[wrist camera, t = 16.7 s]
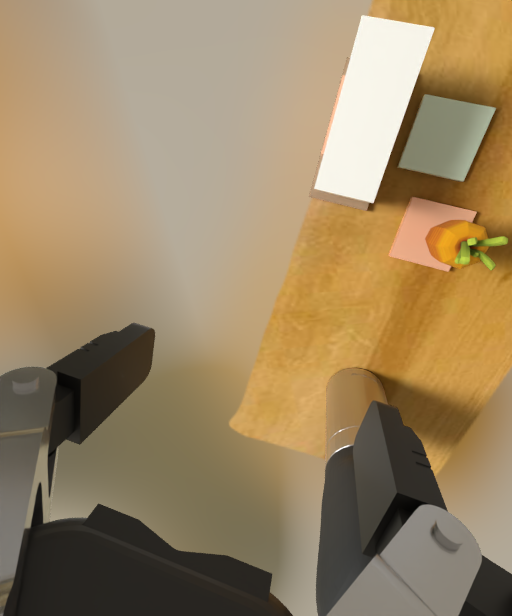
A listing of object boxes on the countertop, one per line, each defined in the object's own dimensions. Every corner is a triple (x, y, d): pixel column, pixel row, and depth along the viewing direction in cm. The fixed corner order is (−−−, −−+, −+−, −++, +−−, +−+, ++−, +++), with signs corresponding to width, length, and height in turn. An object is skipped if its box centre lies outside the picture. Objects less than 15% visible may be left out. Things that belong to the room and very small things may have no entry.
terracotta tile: (446, 270, 44) (448, 271, 43) (388, 254, 44) (389, 256, 44) (473, 211, 41) (477, 211, 40) (411, 196, 42) (412, 196, 41)
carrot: (456, 215, 40) (521, 221, 26) (451, 254, 42) (510, 279, 28) (414, 217, 41) (454, 224, 28) (411, 254, 43) (447, 279, 29)
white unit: (365, 210, 43) (379, 215, 31) (309, 196, 44) (301, 196, 32) (412, 73, 37) (452, 14, 25) (346, 61, 38) (354, -2, 26)
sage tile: (460, 181, 40) (463, 181, 39) (397, 167, 41) (398, 166, 40) (492, 110, 37) (496, 107, 36) (422, 96, 38) (425, 94, 37)
